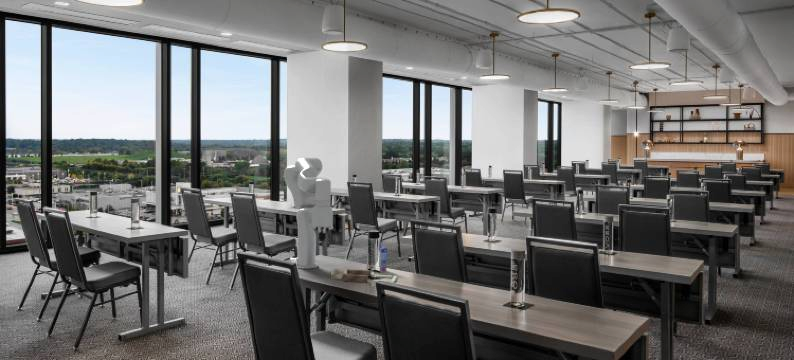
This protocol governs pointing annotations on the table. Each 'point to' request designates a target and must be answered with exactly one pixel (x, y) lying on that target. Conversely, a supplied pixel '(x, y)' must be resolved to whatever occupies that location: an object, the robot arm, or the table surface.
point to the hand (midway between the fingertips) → (322, 240)
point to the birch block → (337, 274)
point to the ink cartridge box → (381, 258)
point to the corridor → (357, 275)
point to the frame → (386, 277)
